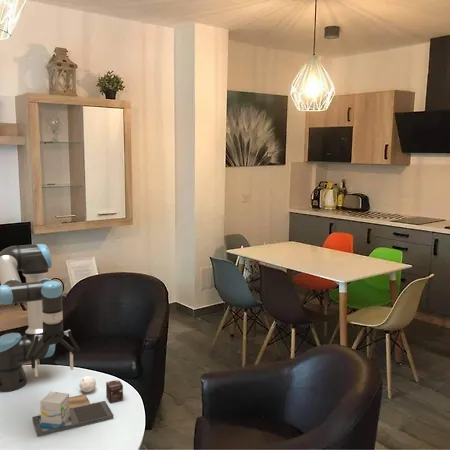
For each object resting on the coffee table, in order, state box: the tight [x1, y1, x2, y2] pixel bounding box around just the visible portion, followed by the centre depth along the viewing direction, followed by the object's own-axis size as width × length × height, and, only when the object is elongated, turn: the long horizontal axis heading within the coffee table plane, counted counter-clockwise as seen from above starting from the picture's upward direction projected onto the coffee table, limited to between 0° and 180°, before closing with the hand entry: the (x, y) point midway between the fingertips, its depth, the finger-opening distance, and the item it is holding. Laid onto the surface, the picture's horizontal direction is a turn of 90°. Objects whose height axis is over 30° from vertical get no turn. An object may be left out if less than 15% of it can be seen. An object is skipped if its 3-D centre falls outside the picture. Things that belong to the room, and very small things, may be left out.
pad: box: [69, 393, 92, 409], centre depth 220 cm, size 10×10×1 cm
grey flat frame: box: [31, 400, 115, 438], centre depth 207 cm, size 30×13×2 cm, turn 119°
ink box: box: [39, 391, 70, 430], centre depth 203 cm, size 9×8×12 cm
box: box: [105, 379, 124, 404], centre depth 224 cm, size 6×6×7 cm
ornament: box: [79, 375, 97, 393], centre depth 230 cm, size 7×7×8 cm
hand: (54, 371), depth 200 cm, fingers open, 13 cm apart
